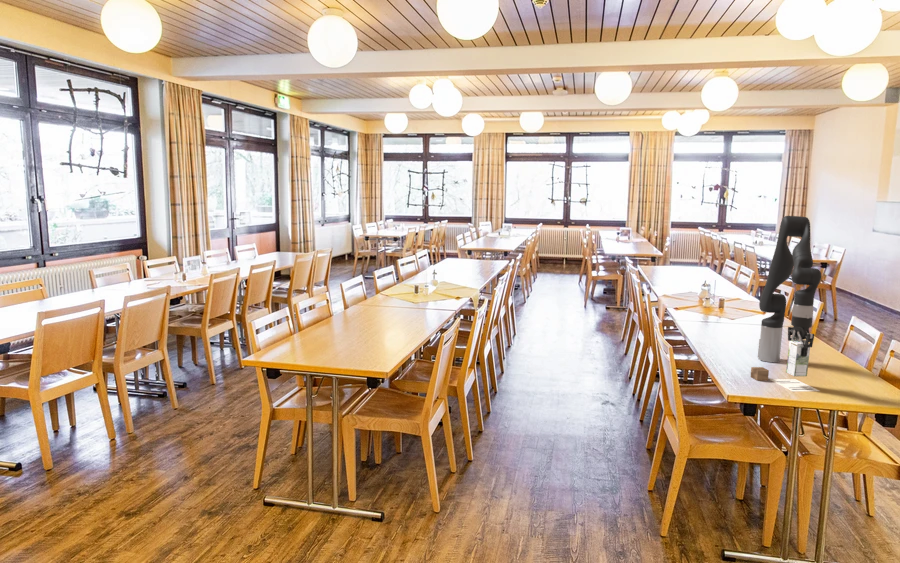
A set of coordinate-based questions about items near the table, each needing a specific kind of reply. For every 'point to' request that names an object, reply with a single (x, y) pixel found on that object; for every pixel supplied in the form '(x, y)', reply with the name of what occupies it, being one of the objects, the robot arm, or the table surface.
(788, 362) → the syrup box
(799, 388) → the letter
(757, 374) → the walnut block
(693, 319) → the table surface
